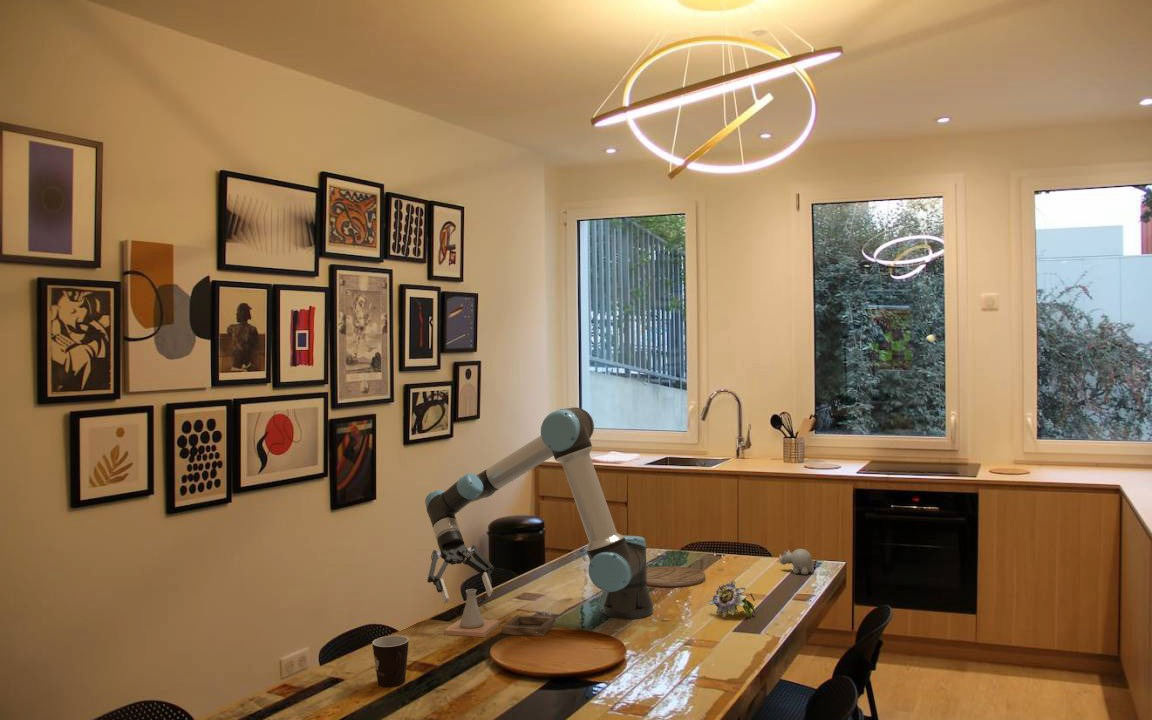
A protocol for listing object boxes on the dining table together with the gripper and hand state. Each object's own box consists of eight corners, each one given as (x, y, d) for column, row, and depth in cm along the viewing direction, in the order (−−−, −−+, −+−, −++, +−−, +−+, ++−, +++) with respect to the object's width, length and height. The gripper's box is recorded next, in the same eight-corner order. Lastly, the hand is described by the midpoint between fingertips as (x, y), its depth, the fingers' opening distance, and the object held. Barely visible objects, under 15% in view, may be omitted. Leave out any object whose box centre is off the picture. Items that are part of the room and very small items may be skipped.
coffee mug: (375, 677, 215) (374, 636, 215) (411, 675, 216) (410, 634, 216) (368, 695, 204) (367, 651, 204) (406, 693, 205) (405, 649, 205)
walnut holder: (555, 623, 256) (555, 617, 256) (542, 636, 245) (542, 629, 245) (516, 621, 260) (516, 614, 260) (502, 633, 248) (502, 626, 248)
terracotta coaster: (499, 624, 257) (499, 620, 257) (483, 637, 245) (483, 632, 245) (461, 622, 260) (461, 618, 260) (444, 634, 249) (444, 630, 249)
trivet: (717, 576, 310) (716, 570, 310) (686, 592, 289) (686, 586, 289) (653, 568, 324) (653, 563, 324) (620, 583, 303) (620, 578, 303)
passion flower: (725, 635, 259) (700, 601, 261) (738, 619, 268) (714, 586, 270) (753, 619, 253) (727, 584, 255) (766, 603, 262) (741, 569, 264)
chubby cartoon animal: (785, 567, 319) (784, 544, 319) (815, 572, 311) (815, 548, 311) (775, 571, 313) (774, 547, 314) (806, 576, 305) (805, 552, 306)
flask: (479, 629, 249) (479, 594, 249) (455, 628, 250) (454, 593, 250) (487, 621, 256) (487, 587, 256) (464, 620, 257) (463, 586, 257)
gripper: (483, 539, 275) (504, 597, 262) (406, 549, 263) (424, 611, 250) (489, 524, 270) (511, 583, 257) (411, 534, 258) (430, 596, 245)
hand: (468, 597), depth 253 cm, fingers open, 13 cm apart
